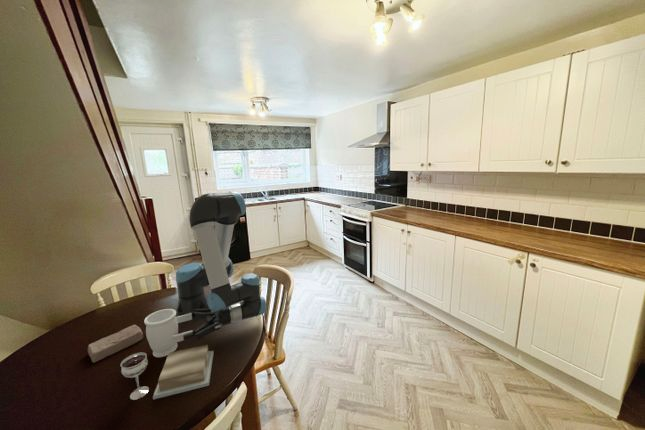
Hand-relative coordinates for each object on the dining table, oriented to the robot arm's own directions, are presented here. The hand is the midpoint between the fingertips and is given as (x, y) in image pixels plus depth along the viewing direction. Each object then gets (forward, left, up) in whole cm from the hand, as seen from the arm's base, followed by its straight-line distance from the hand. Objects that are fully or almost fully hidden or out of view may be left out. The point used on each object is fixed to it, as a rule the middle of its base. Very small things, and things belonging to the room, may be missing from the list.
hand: (173, 329), depth 100 cm
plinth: (+16, +7, -8) cm, 19 cm away
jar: (0, -4, -9) cm, 9 cm away
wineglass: (+19, -6, -9) cm, 22 cm away
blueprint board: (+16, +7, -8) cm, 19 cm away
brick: (-9, -23, -9) cm, 27 cm away
